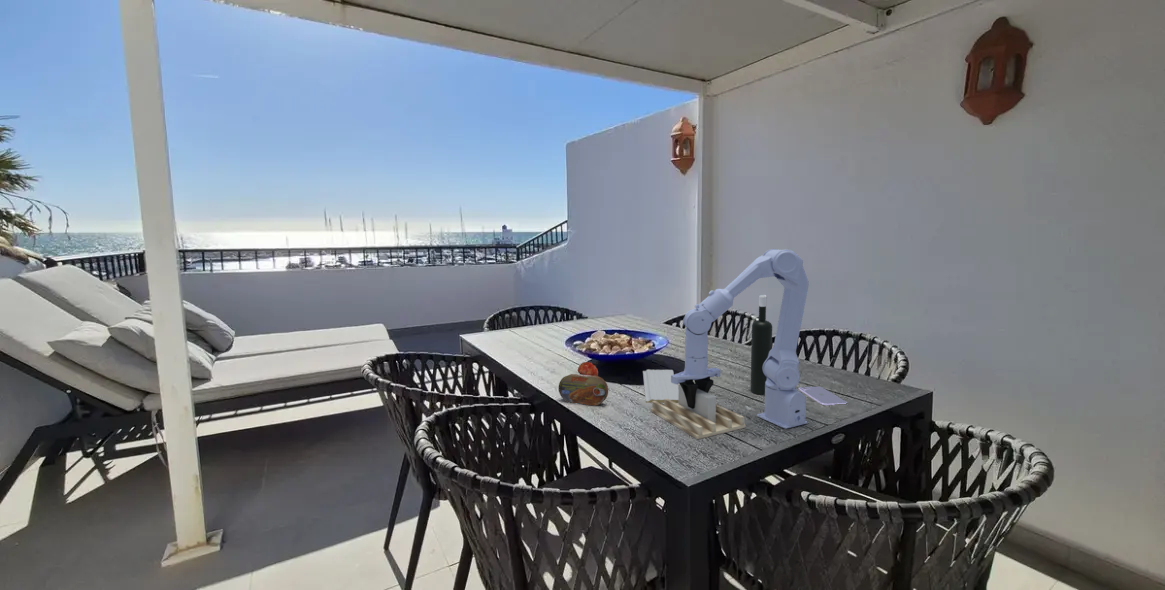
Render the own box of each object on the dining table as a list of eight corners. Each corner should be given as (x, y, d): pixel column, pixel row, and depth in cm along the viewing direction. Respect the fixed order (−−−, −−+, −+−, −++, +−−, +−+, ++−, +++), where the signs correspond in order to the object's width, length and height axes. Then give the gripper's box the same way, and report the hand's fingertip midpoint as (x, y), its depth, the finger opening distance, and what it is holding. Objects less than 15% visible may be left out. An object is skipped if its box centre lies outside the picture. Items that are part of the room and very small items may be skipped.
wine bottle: (757, 395, 135) (760, 296, 132) (746, 389, 141) (748, 294, 137) (774, 393, 137) (777, 295, 133) (762, 388, 142) (765, 293, 139)
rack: (745, 427, 113) (745, 416, 113) (697, 439, 107) (697, 428, 106) (694, 402, 131) (694, 393, 131) (650, 411, 125) (650, 401, 125)
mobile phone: (822, 403, 127) (796, 386, 141) (822, 406, 127) (796, 389, 142) (849, 402, 127) (821, 385, 142) (849, 405, 127) (820, 388, 142)
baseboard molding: (640, 404, 132) (682, 405, 131) (640, 394, 132) (682, 395, 131) (638, 373, 163) (672, 374, 162) (638, 365, 163) (672, 366, 161)
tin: (558, 401, 134) (557, 374, 133) (562, 398, 137) (562, 371, 136) (606, 407, 129) (605, 379, 128) (609, 404, 132) (609, 375, 131)
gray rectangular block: (715, 423, 114) (715, 396, 113) (707, 425, 113) (707, 398, 112) (685, 408, 125) (686, 383, 124) (678, 409, 124) (678, 384, 123)
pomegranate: (584, 393, 148) (607, 373, 149) (569, 376, 147) (593, 356, 148) (580, 388, 155) (602, 369, 156) (567, 372, 154) (589, 353, 155)
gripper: (708, 349, 123) (707, 397, 125) (664, 355, 118) (663, 406, 119) (726, 354, 117) (725, 405, 119) (680, 362, 111) (680, 415, 113)
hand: (695, 406), depth 118 cm, fingers closed on gray rectangular block, 2 cm apart
